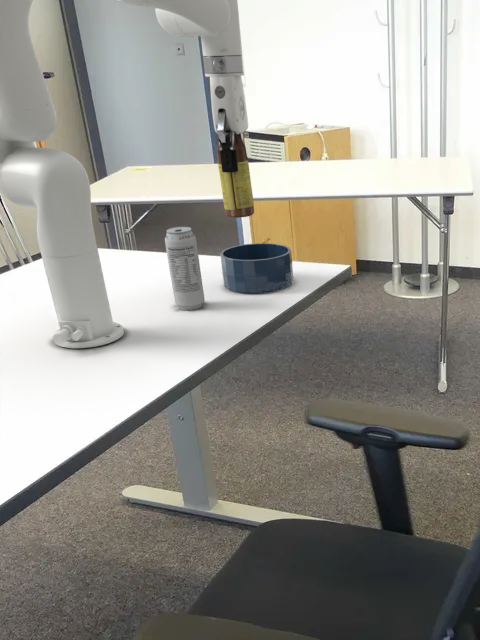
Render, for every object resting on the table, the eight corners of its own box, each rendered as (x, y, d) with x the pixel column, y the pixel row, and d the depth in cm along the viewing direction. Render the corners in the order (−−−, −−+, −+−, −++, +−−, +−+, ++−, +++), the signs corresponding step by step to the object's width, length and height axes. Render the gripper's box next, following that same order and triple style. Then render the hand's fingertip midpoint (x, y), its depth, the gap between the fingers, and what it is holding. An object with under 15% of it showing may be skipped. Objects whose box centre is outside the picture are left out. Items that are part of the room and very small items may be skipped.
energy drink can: (207, 301, 160) (197, 225, 151) (202, 310, 155) (190, 232, 146) (179, 302, 160) (167, 226, 152) (172, 311, 155) (159, 233, 147)
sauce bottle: (257, 212, 165) (248, 107, 154) (251, 218, 160) (240, 109, 149) (227, 212, 166) (216, 107, 155) (220, 218, 160) (207, 110, 149)
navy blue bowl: (286, 294, 162) (284, 260, 159) (216, 294, 164) (212, 260, 160) (298, 274, 175) (296, 242, 171) (233, 275, 176) (229, 243, 172)
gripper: (232, 68, 140) (242, 175, 150) (252, 65, 155) (261, 163, 165) (192, 69, 141) (205, 176, 151) (216, 65, 155) (227, 163, 165)
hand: (234, 168), depth 158 cm, fingers closed on sauce bottle, 6 cm apart
